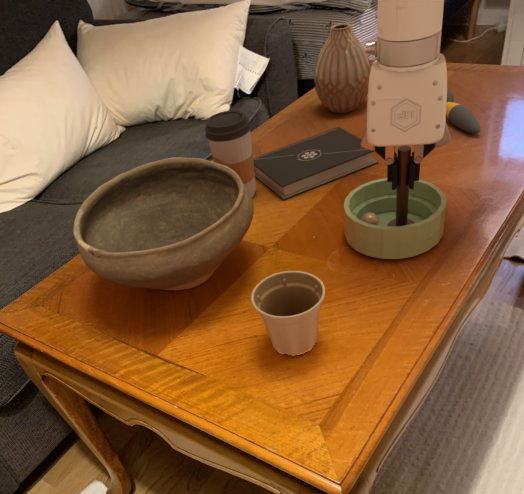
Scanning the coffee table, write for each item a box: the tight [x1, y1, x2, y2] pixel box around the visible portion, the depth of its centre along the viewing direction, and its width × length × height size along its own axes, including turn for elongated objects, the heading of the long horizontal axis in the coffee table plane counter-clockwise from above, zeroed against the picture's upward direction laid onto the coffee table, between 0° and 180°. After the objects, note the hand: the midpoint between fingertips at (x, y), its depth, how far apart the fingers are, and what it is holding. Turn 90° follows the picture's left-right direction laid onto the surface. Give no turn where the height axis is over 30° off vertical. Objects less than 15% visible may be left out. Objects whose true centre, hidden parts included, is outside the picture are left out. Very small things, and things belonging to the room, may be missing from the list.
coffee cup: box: [204, 109, 257, 198], centre depth 98 cm, size 8×8×15 cm
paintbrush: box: [446, 88, 481, 135], centre depth 110 cm, size 20×5×5 cm, turn 20°
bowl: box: [72, 156, 255, 291], centre depth 82 cm, size 28×28×14 cm
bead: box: [361, 212, 379, 225], centre depth 86 cm, size 3×3×3 cm
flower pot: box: [250, 270, 326, 356], centre depth 69 cm, size 9×9×9 cm
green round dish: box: [343, 177, 447, 260], centre depth 84 cm, size 16×16×6 cm
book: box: [253, 126, 379, 201], centre depth 105 cm, size 22×15×3 cm
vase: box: [313, 22, 372, 114], centre depth 119 cm, size 13×13×18 cm
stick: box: [387, 145, 415, 226], centre depth 78 cm, size 4×4×14 cm
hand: (402, 184), depth 77 cm, fingers closed on stick
